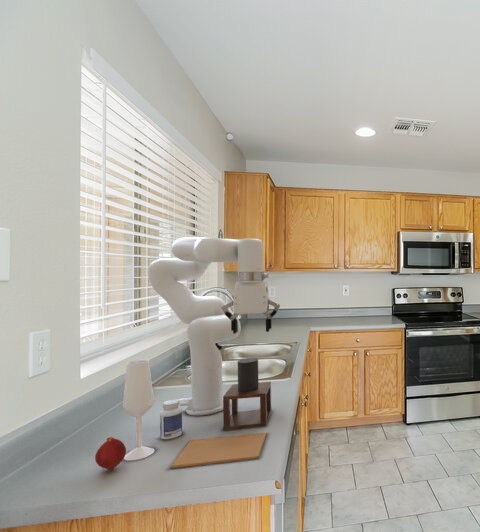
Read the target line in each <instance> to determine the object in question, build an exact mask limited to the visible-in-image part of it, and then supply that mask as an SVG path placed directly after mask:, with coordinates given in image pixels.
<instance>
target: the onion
mask: <svg viewBox="0 0 480 532" xmlns="http://www.w3.org/2000/svg"><path fill="white" fill-rule="evenodd" d="M126 454H127V448H126V445H125V443H124V442H123V441H121V440H120V439H117V438H115V437H113V436H109V437H107V438H106V441H105V442H103V443H102V444H101V445H100V446H99V448H98V449H97V451H96V453H95V456H94V459H95V460H94V461H95V463H96V464H97V465H98V467H100V468H102V469H106V470H107V471H113V470H114V469H115V468H116V467H118V466H119V465H120V464H121V463H122V462H123V460H124V457H125V455H126Z"/></svg>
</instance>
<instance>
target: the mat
mask: <svg viewBox="0 0 480 532" xmlns="http://www.w3.org/2000/svg"><path fill="white" fill-rule="evenodd" d="M267 435H268V434H267V432H258V433H257V432H256V433H250V434H248V433H247V434H238V435H231V436H230V435H227V436H217V437H210V438H209V437H208V438H199V439H191V440H189V442H188V443H187V444H186V445H185V447H184V448H183V449H182V451H181V452H180V453H179V455H178V456H177V457H176V458H175V460H174V461H173V462H172V464H171V465H170V469H178V468H179V469H180V468H188V467H197V466H204V465H205V466H206V465H213V464H215V465H216V464H222V463H231V462H232V463H233V462H240V461H247V460H249V461H250V460H258V459H259V458H260V454H261V452H262V450H263V446H264V444H265V440H266V437H267Z"/></svg>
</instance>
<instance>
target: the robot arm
mask: <svg viewBox="0 0 480 532" xmlns="http://www.w3.org/2000/svg"><path fill="white" fill-rule="evenodd" d="M170 250H171V253H172V255H173V256H174V257H167V258H165V257H164V258H159V259H155V260H154V261H152V262H151V263H150V264H149V266H148V268H147V269H148V270H147V273H148V274H147V276H148V280H149V283H150V285H151V288H152V289H153V290H154V291H155V293H156V294H158V295H159V296H160V297H161V298H162V299H163V300H164V301H165V302H166V303H167V305H168V306H169V308H171V310H172V311H173V312H174V314H175V315H176V317H177V318H178V319H179V320H180V322H182V323H184V324H186V325H187V328H186V336H187V341H188V345H189V352H190V387H191V389H190V390H191V393H190V394H191V396H189V397H188V398H178V400H179V407H185V406H187V407H186V410H185V411H186V414H187V415H189V416H196V417H197V416H207V415H212V414H216V413H219V412H221V411H223V396H224V394H223V391H224V390H223V355H222V352H221V351H220V349H219V348H218V347H217V345H216V344H218V343H222V342H228V341H231V340H234V339H236V338H238V336H240V334H241V332H242V325H241V321H240V320H239V318H238V316H239V315H255V314H257V315H258V314H263V315H264V316H265V318H266V319H265V332H266V333H269V332H270V330H271V329H272V318H273V317H274V316H276V314H277V313H278V311H279V309H280V307H281V304H280V303H278V302H276V301H274V300H272V299H270V297H269V288H268V284H267V281H265V279H269V273H265V271H264V243H263V240H262V239H259V238H241V239H237V238H236V239H234V238H221V237H219V238H218V237H203V236H202V237H197V236H195V237H194V236H193V237H192V236H191V237H190V236H189V237H188V236H186V237H179V238H178V239H176V240H174V241H173V243H172V244H171V249H170ZM212 263H237V281H236V282H235V285H234V291H233V293H234V295H233V300H232V301H231V302H228V303H226V302H225V301H224V300H223V299H222V298H221V297H219V296H216V295H201V296H200V295H196V294H194V292H193V291H192V289H190V288H189V287H188V286H187V285H185V284H183V283H182V282H183V281H195V280H198V279H200V278H201V277H202V276H203V275H204V273H205V272H206V271H207V269H208V268H209V266H210V265H211V264H212ZM181 281H182V282H181ZM270 306H272V307H273V310H272V311H271V312H270V311H269V310H270ZM231 308H232V309H233V311H232V309H231Z"/></svg>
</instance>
